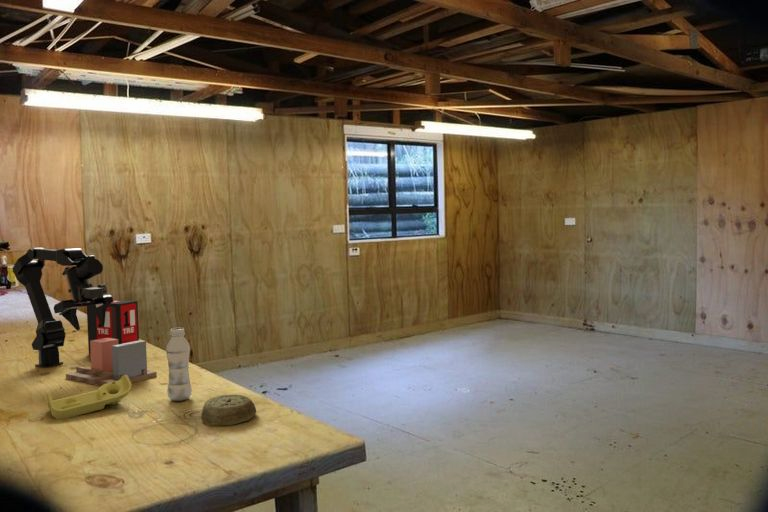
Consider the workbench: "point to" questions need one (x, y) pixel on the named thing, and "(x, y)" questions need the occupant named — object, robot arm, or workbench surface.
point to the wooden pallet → (103, 376)
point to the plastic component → (90, 399)
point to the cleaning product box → (114, 322)
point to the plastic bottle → (178, 366)
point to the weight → (227, 410)
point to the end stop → (129, 359)
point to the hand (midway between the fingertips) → (91, 328)
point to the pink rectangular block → (102, 354)
